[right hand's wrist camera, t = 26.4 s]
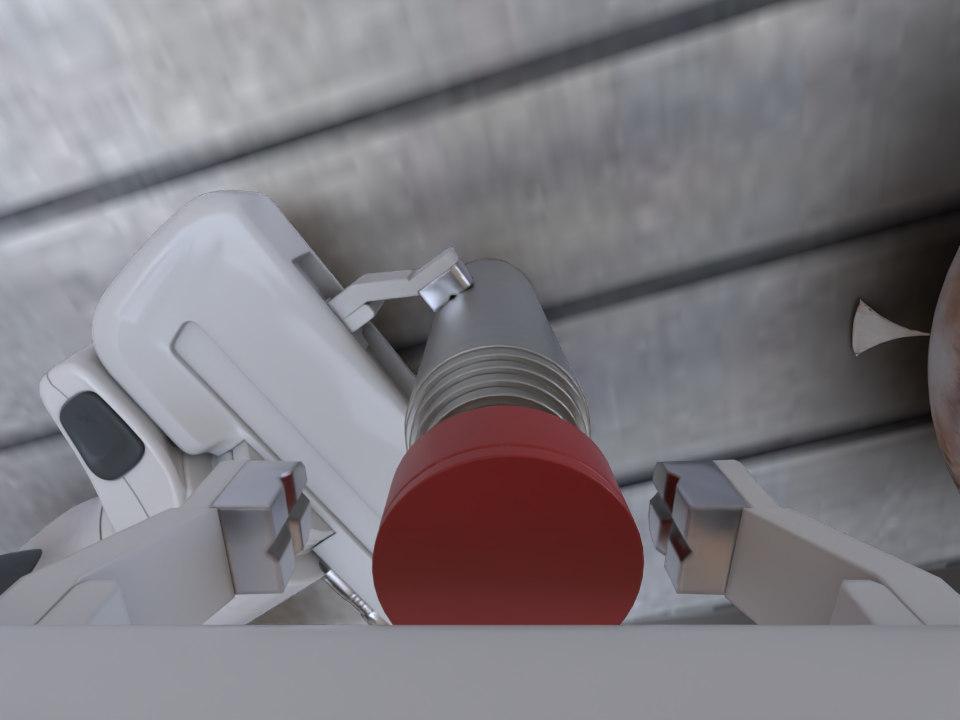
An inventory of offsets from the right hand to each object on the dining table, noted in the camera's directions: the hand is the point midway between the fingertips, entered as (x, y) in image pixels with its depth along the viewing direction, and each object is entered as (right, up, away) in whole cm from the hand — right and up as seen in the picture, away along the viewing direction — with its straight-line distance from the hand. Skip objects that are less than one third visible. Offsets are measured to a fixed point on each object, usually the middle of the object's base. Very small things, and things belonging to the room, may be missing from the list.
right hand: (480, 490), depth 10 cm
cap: (0, -1, -2) cm, 2 cm away
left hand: (+1, +4, +10) cm, 11 cm away
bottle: (0, +5, +15) cm, 16 cm away
